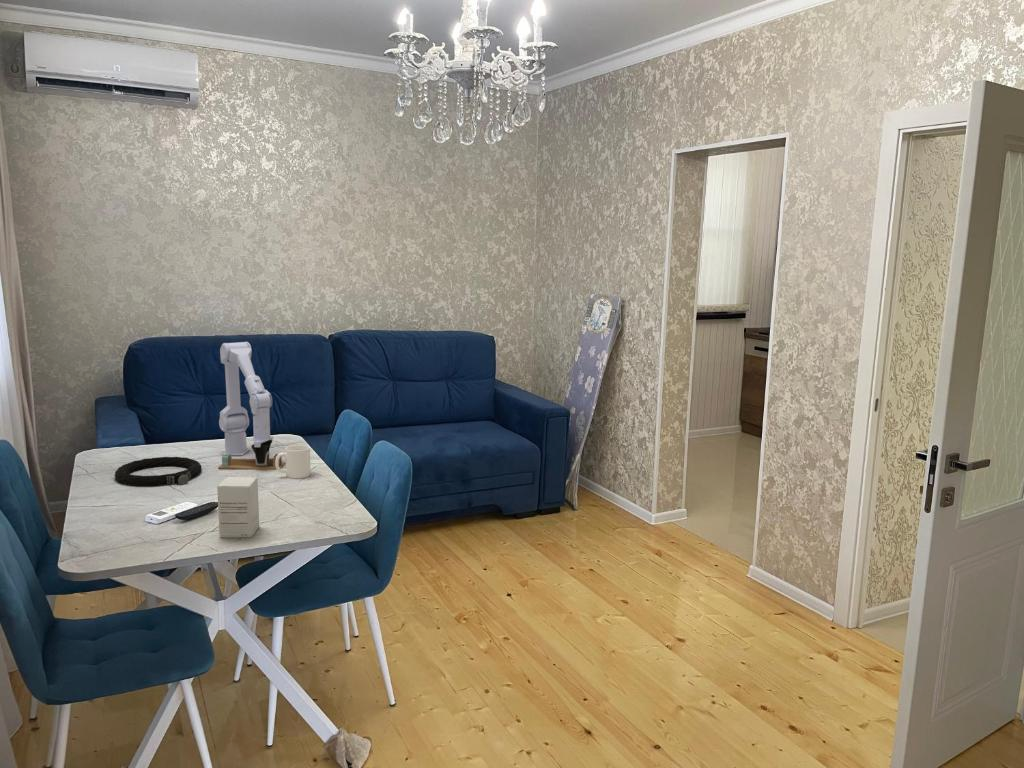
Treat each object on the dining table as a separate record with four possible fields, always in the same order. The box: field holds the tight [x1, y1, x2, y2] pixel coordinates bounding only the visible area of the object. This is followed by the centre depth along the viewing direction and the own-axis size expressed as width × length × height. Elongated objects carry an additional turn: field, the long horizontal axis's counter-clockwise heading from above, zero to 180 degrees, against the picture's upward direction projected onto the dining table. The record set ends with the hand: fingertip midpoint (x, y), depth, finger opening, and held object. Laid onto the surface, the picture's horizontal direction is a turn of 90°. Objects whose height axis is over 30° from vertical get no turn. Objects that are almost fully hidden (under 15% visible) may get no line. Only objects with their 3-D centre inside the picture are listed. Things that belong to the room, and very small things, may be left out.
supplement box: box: [216, 476, 260, 538], centre depth 210 cm, size 9×9×15 cm
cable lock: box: [114, 456, 203, 487], centre depth 261 cm, size 28×4×30 cm
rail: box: [217, 453, 286, 471], centre depth 275 cm, size 8×22×4 cm, turn 95°
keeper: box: [254, 449, 271, 466], centre depth 275 cm, size 4×4×5 cm
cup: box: [275, 444, 311, 480], centre depth 264 cm, size 8×12×10 cm
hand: (262, 461), depth 275 cm, fingers closed on keeper, 4 cm apart
